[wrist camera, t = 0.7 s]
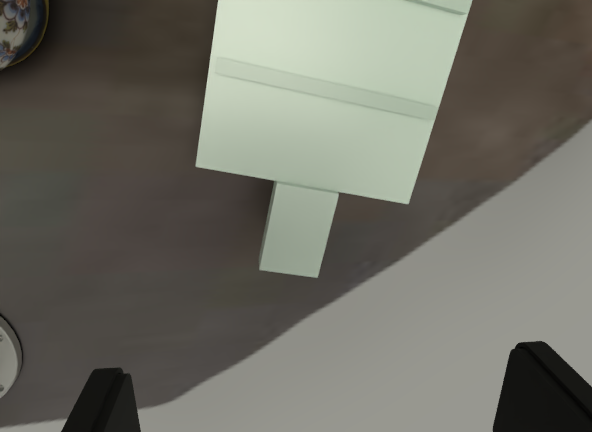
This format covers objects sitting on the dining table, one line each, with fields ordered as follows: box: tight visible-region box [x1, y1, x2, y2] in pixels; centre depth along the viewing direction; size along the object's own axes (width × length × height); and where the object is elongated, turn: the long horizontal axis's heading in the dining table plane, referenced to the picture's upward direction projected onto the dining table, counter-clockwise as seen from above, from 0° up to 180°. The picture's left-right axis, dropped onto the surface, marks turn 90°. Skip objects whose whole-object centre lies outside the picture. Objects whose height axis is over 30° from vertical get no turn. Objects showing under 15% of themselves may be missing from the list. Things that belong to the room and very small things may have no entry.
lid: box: [195, 0, 472, 278], centre depth 25 cm, size 24×14×2 cm, turn 168°
